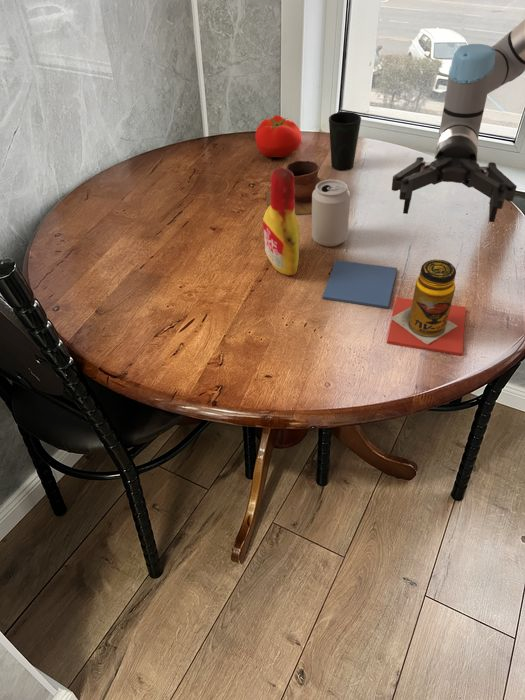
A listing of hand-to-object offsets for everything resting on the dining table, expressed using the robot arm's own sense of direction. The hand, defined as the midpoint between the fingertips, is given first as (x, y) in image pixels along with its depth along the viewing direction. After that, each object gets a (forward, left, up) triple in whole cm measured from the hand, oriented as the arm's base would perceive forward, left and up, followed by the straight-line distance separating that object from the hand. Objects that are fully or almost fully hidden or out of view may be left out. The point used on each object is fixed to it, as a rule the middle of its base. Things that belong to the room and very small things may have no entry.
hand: (449, 210), depth 88 cm
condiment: (+1, +10, -16) cm, 19 cm away
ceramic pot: (+32, -30, -17) cm, 47 cm away
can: (+22, -13, -17) cm, 31 cm away
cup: (+26, -47, -17) cm, 57 cm away
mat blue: (+13, +1, -17) cm, 21 cm away
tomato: (+44, -51, -17) cm, 70 cm away
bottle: (+29, -2, -17) cm, 34 cm away
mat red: (0, +10, -17) cm, 19 cm away
